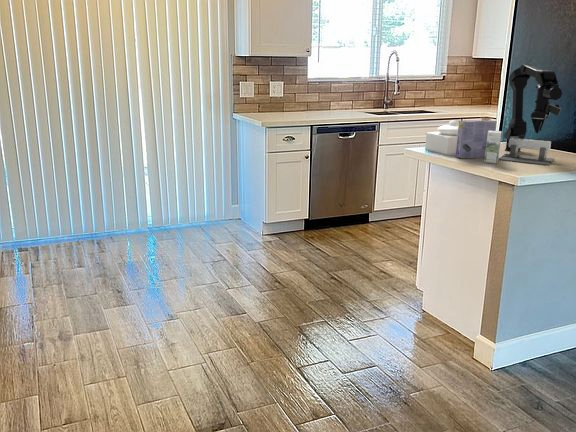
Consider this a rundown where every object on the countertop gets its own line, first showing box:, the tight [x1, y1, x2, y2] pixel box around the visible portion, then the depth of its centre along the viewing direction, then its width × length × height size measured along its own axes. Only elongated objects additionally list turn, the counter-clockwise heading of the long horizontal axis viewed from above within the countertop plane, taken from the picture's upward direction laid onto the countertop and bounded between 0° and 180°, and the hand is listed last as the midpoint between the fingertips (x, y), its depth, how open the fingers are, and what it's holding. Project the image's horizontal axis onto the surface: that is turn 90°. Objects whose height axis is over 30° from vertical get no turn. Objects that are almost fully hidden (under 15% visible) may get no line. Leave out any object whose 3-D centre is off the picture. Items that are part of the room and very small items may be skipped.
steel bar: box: [508, 138, 552, 152], centre depth 263 cm, size 18×4×4 cm, turn 57°
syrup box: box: [483, 130, 503, 165], centre depth 253 cm, size 6×6×14 cm
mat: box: [498, 156, 552, 166], centre depth 258 cm, size 22×7×1 cm, turn 57°
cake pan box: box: [454, 120, 497, 159], centre depth 265 cm, size 19×5×18 cm, turn 106°
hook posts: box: [501, 145, 555, 163], centre depth 264 cm, size 22×8×6 cm, turn 57°
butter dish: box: [424, 119, 459, 156], centre depth 282 cm, size 18×18×16 cm
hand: (538, 131), depth 262 cm, fingers open, 9 cm apart
